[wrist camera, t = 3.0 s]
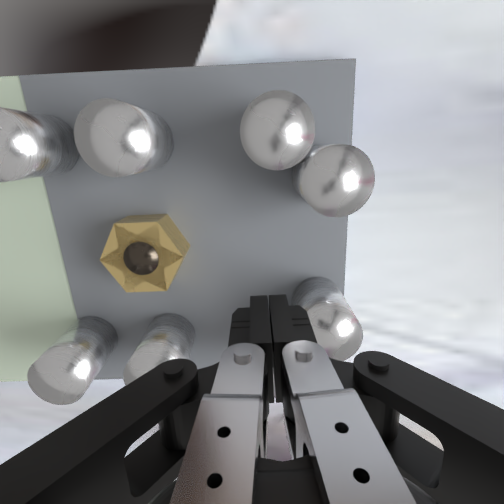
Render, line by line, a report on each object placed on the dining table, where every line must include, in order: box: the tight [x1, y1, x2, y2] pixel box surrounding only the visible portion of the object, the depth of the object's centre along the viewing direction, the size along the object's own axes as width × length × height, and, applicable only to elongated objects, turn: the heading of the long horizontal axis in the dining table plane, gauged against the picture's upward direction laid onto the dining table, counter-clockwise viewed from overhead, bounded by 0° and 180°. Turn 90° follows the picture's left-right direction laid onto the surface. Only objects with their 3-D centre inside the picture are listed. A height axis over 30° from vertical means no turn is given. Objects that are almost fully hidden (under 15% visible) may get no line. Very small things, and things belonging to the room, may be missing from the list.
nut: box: [100, 214, 191, 293], centre depth 21 cm, size 5×5×2 cm
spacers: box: [0, 90, 375, 405], centre depth 20 cm, size 18×21×5 cm
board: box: [0, 58, 356, 382], centre depth 23 cm, size 22×32×1 cm
